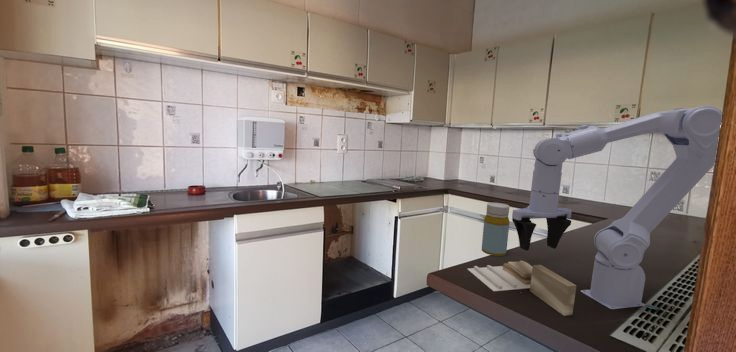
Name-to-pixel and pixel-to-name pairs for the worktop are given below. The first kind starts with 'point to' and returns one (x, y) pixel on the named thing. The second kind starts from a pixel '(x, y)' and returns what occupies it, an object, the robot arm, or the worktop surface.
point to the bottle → (496, 229)
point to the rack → (497, 278)
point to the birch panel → (553, 289)
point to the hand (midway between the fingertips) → (538, 248)
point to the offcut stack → (519, 271)
